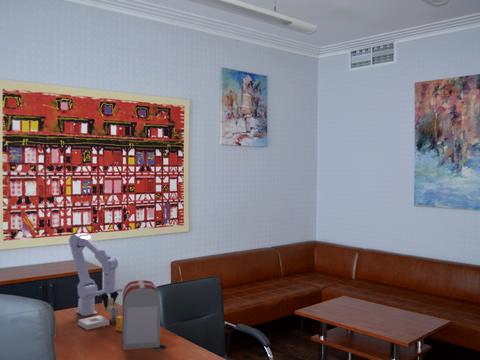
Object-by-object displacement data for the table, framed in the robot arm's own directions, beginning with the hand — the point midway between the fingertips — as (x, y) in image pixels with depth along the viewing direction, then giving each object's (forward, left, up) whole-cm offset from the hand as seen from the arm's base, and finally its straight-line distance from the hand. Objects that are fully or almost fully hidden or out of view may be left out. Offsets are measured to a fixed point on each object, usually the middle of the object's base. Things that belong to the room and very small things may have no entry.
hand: (109, 306), depth 254 cm
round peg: (+8, -1, -6) cm, 10 cm away
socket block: (+5, -11, -6) cm, 14 cm away
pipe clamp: (+24, -2, -7) cm, 25 cm away
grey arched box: (+40, -5, -6) cm, 41 cm away
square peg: (0, 0, -2) cm, 2 cm away
